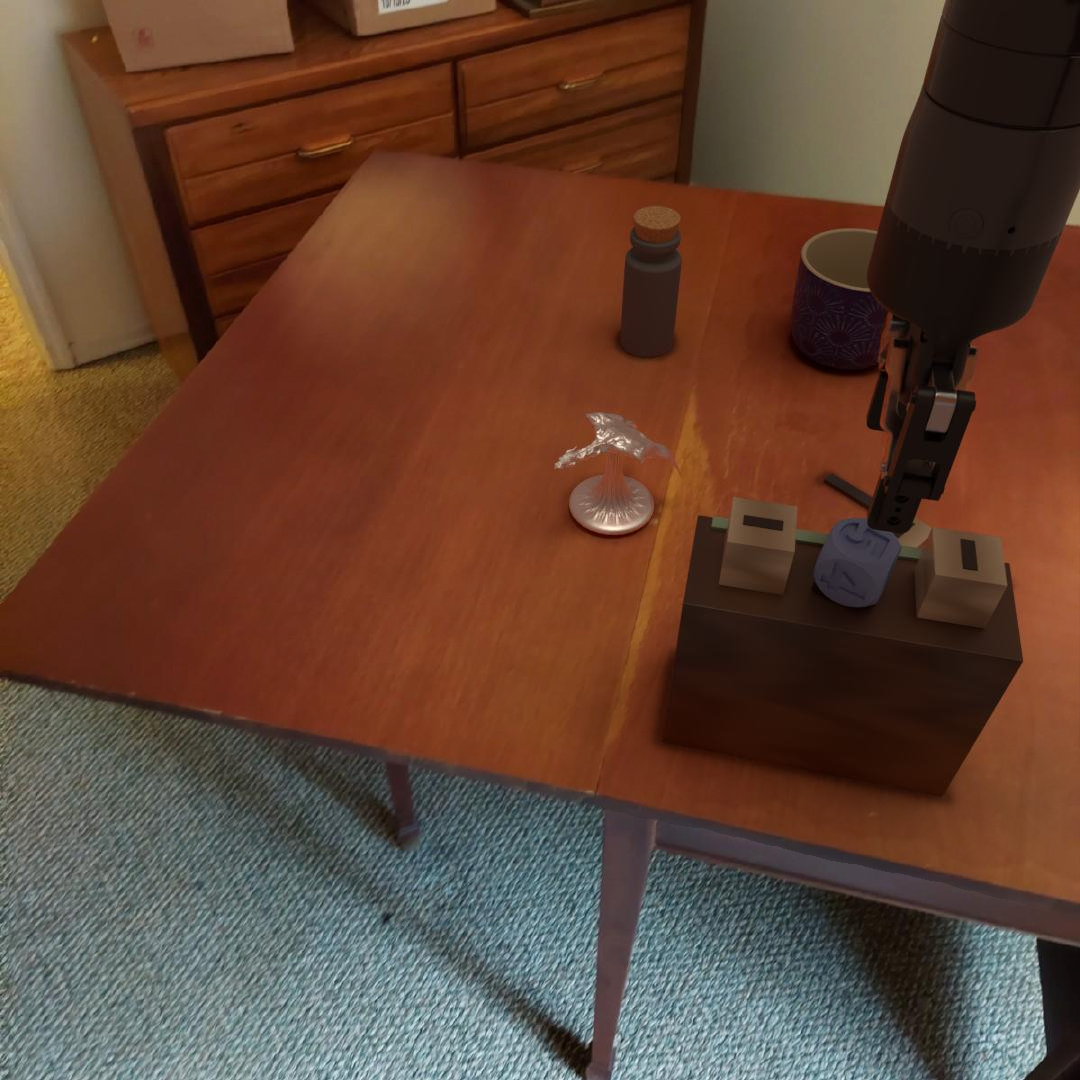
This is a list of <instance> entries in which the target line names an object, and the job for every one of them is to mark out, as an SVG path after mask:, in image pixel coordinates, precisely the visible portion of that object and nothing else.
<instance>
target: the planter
mask: <svg viewBox="0 0 1080 1080" xmlns="http://www.w3.org/2000/svg"><path fill="white" fill-rule="evenodd" d="M877 232H878V230H873V229H866V228H857V227H856V228H855V227H852V228H850V227H849V228H848V227H847V228H835V229H830V230H826V231H823V232H820V233H818V234H815V235H814V236H811V237H810V238H809V239H808V240H807V241H806V242H805V243H804V244H803V246H802V248H801V251H800V257H799V262H798V267H797V268H798V269H797V272H796V273H797V274H796V280H795V286H794V292H793V298H792V306H791V316H790V330H791V337H792V340H793V342H794V343H795V346H796V347H797V348H798V350H799V351H800V352H801V353H802V354H803V355H804V356H806V357H807V358H808V359H810V360H811V361H813V362H815V363H817V364H819V365H822V366H825V367H826V368H827V367H828V368H832V369H837V370H844V371H846V370H847V371H857V370H863V369H868V368H871V367H874V366H877V365H879V362H877V361H878V355H879V348H880V341H881V335H880V330H881V327H883V325H884V322H885V318H886V315H887V312H888V311H887V310H886V309H885V308H884V307H883V306H881V305H880V304H879V303H878V302H877V300H876V299H875V298H874V296H873V295H872V293H871V292H870V289H869V287H868V283H867V270H868V266H869V263H870V259H871V255H872V251H873V247H874V243H875V240H876V236H877Z"/></svg>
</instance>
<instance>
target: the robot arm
mask: <svg viewBox="0 0 1080 1080" xmlns="http://www.w3.org/2000/svg"><path fill="white" fill-rule="evenodd" d="M941 11H942V12H941V15H940V17H939V22H938V26H937V29H936V34H935V37H934V41H933V45H932V47H931V48H932V49H931V52H930V56H929V60H928V64H927V67H926V71H925V75H924V78H923V83H922V85H921V88H920V92H919V95H918V97H917V100H916V102H915V105H914V108H913V110H912V112H911V115H910V117H909V120H908V121H907V125H906V127H905V129H904V131H903V136H902V138H901V142H900V146H899V149H898V153H897V157H896V160H895V164H894V168H893V172H892V175H891V180H890V184H889V187H888V190H887V193H886V194H887V195H886V198H885V202H884V205H883V209H882V212H881V213H882V214H881V217H880V220H879V225H878V229H877V231H878V232H877V236H876V240H875V243H874V247H873V251H872V255H871V259H870V263H869V266H868V270H867V283H868V287H869V289H870V292H871V293H872V295H873V296H874V298H875V299H876V300H877V302H878V303H879V304H880V305H881V306H883V307H884V308H885V309H886V310H887V311H888V312H887V315H886V318H885V322H884V325H883V327H881V330H880V335H881V341H880V348H879V355H878V361H877V362H879V364H878V370H879V372H878V376H877V379H876V383H875V385H874V389H873V393H872V396H871V398H870V399H871V400H870V403H869V406H868V410H867V413H866V428H868V429H870V430H872V431H878V432H885V433H886V435H887V437H886V442H885V448H884V453H883V459H882V461H880V464H879V476H878V479H877V482H876V485H875V488H874V492H873V495H872V496H871V497H872V500H871V503H870V506H869V509H867V512H866V519H867V525H868V526H869V527H870V528H871V529H874V530H880V531H887V532H893V533H906V532H908V531H909V530H910V529H911V526H912V523H913V521H914V518H916V516H917V513H918V510H919V507H920V505H921V502H922V500H928V501H934V502H939V501H940V500H941V497H942V495H943V494H944V491H945V490H946V489H945V488H946V484H947V481H948V478H949V476H950V473H951V471H952V468H953V465H954V463H955V460H956V458H957V455H958V452H959V450H960V446H961V444H962V442H963V438H964V436H965V433H966V431H967V428H968V425H969V423H970V420H971V417H972V414H973V412H974V411H975V410H976V406H977V400H976V393H975V391H970V390H966V387H967V383H969V382H970V381H971V380H972V378H973V377H974V375H975V371H976V366H977V361H978V355H979V354H978V353H979V349H978V346H976V345H971V343H972V342H973V341H974V340H976V339H978V338H980V337H982V336H985V335H987V334H991V333H993V332H996V331H1001V330H1003V329H1006V328H1009V327H1011V326H1013V325H1014V324H1015V325H1016V324H1017V323H1018V322H1019V321H1021V320H1022V319H1023V318H1024V317H1025V316H1027V314H1028V313H1029V311H1030V310H1031V308H1032V307H1033V304H1034V302H1035V299H1036V297H1037V295H1038V293H1039V290H1040V288H1041V285H1042V283H1043V280H1044V279H1045V275H1046V272H1047V270H1048V268H1049V265H1050V263H1051V260H1052V258H1053V255H1054V253H1055V251H1056V249H1057V247H1058V244H1059V242H1060V239H1061V236H1062V234H1063V232H1064V229H1065V227H1066V224H1067V222H1068V220H1069V217H1070V214H1071V213H1072V209H1073V207H1074V206H1075V203H1076V200H1077V198H1078V195H1079V193H1080V0H945V1H944V3H943V7H942V10H941Z"/></svg>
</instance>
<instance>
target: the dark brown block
mask: <svg viewBox="0 0 1080 1080" xmlns="http://www.w3.org/2000/svg"><path fill="white" fill-rule="evenodd" d="M798 510H799V506H797V505H791V504H784V503H777V502H770V501H764V500H757V499H752V498H751V499H750V498H744V497H737V496H733V497H732V501H731V507H730V511H729V516H728V517H721V516H716V515H712V516H707V515H700V514H699V515H697V519H696V524H695V530H694V537H693V543H692V547H691V553H690V559H689V564H688V565H689V566H688V571H687V577H686V582H685V589H684V594H683V601H682V605H681V606H682V607H681V613H680V621H679V626H678V633H677V639H676V644H675V645H676V646H675V652H674V659H673V665H672V672H671V677H670V678H671V679H670V684H669V690H668V698H667V704H666V710H665V717H664V722H663V723H664V724H663V729H662V737H661V743H666V744H670V745H671V744H672V745H676V746H681V747H685V748H686V747H687V748H690V749H691V748H692V749H696V750H702V751H708V752H712V753H718V754H722V755H727V756H732V757H733V756H734V757H737V758H743V759H748V760H753V761H758V762H763V763H767V764H773V765H778V766H783V767H789V768H794V769H799V770H804V771H809V772H815V773H819V774H824V775H830V776H835V777H841V778H845V779H851V780H856V781H861V782H864V783H865V782H866V783H871V784H875V785H882V786H887V787H892V788H897V789H902V790H907V791H913V792H916V793H923V794H926V795H927V794H928V795H933V796H937V797H944V795H945V794H946V792H947V790H948V788H949V787H950V785H951V784H952V782H953V780H954V779H955V777H956V775H957V774H958V772H959V770H960V768H961V767H962V765H963V763H964V762H965V760H966V758H967V757H968V755H969V753H970V752H971V750H972V749H973V747H974V745H975V743H976V742H977V740H978V738H979V737H980V735H981V733H982V731H983V730H984V728H985V727H986V725H987V723H988V721H989V720H990V718H991V716H992V715H993V713H994V712H995V710H996V708H997V707H998V705H999V703H1000V702H1001V700H1002V698H1003V696H1004V695H1005V693H1006V692H1007V690H1008V688H1009V687H1010V685H1011V683H1012V681H1013V679H1014V678H1015V676H1016V675H1017V673H1018V671H1019V670H1020V669H1021V666H1022V665H1023V663H1024V656H1023V650H1022V649H1023V647H1022V642H1021V641H1022V640H1021V635H1020V627H1019V620H1018V614H1017V613H1018V612H1017V606H1016V600H1015V599H1016V598H1015V592H1014V585H1013V579H1012V572H1011V564H1010V563H1009V562H1005V558H1004V551H1003V542H1002V537H1001V536H996V535H989V534H983V533H977V532H976V533H975V532H970V531H964V530H963V531H962V530H957V529H950V528H943V527H936V526H931V527H932V528H931V531H930V533H929V536H928V538H927V541H926V543H925V545H924V548H916V547H910V546H903V545H901V547H902V548H901V552H900V554H899V557H898V560H897V562H896V564H895V567H894V569H893V571H892V574H891V576H890V578H889V580H888V582H887V584H886V586H885V589H884V591H883V593H882V595H881V596H880V598H879V600H878V602H877V603H876V604H874V605H871V606H867V607H849V606H845V605H841V604H839V603H837V602H835V601H833V600H831V599H830V598H828V597H827V596H826V595H825V594H824V593H823V592H822V591H821V590H820V589H819V587H818V586H817V584H816V582H815V580H814V578H813V572H814V568H815V565H816V562H817V560H818V557H819V555H820V552H821V550H822V548H823V545H824V543H825V541H826V539H827V537H828V535H829V533H826V532H819V531H813V530H807V529H799V528H797V526H798V525H797V524H798Z"/></svg>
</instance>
